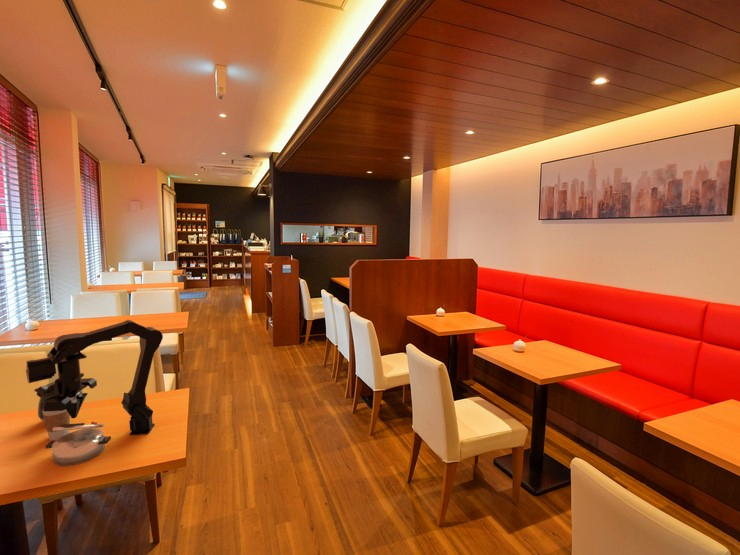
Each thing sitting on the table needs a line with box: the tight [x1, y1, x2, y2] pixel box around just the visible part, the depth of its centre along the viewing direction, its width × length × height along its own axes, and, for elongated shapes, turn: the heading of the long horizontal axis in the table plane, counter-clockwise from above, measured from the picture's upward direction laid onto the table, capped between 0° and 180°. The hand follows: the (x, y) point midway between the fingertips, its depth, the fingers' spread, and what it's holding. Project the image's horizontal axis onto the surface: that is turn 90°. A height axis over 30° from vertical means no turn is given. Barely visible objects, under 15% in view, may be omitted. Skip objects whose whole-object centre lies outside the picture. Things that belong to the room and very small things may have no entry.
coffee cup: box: [40, 395, 71, 441], centre depth 138 cm, size 8×8×15 cm
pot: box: [44, 428, 112, 467], centre depth 129 cm, size 18×14×5 cm
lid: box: [53, 421, 105, 431], centre depth 129 cm, size 14×15×2 cm
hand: (74, 417), depth 127 cm, fingers closed
